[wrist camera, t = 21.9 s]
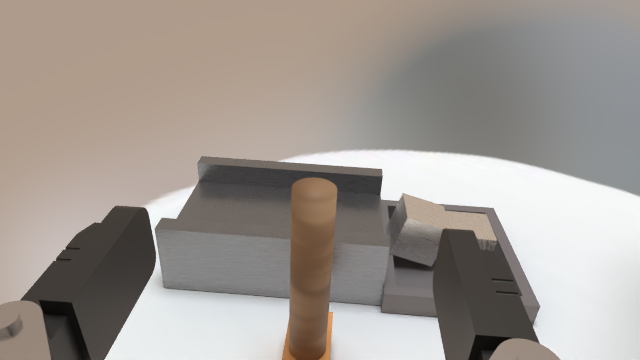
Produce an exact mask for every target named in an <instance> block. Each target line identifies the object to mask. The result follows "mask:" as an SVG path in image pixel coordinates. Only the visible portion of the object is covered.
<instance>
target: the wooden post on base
mask: <svg viewBox="0 0 640 360" xmlns="http://www.w3.org/2000/svg"><path fill="white" fill-rule="evenodd" d="M336 201H337V187H336V185H335V184H334V183H332V182H331V181H329V180H326V179H322V178H304V179H301V180H298V181H296V182H295V183H294V184H293V185H292V190H291V254H290V317H289V323H288V329H287V334H286V340H285V346H284V351H283V357H282V360H330V348H331V333H332V318H333V312H329V298H330V284H331V270H332V257H333V243H334V229H335V215H336Z"/></svg>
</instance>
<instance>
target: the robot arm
mask: <svg viewBox="0 0 640 360" xmlns="http://www.w3.org/2000/svg"><path fill="white" fill-rule="evenodd" d="M155 262H156V251H155V246H154V240H153V235H152V230H151V225H150V220H149V215H148V212H147V210H146V209H145V208H143V207H128V206H115V207H114V208H113V209H112V210H111V211H110V212H109V214H108V215H107V216H106V217H105V218H104V220H103V221H102V222H101V223H93V224H92V225H90V226H89V227H87V228H85V229H84V230H82V231H81V232H79V233H78V234H77V235H76V236H75V237H74V238H73V239H72V240H71V242H70V243H69V244H68V245H67V246H66V249H65V250H63V251H62V252H61V253H60V254H59V256H58V257H57V258H56V261H53V263H52V264H51V265H50V266H49V267H48V268H47V270H46V271H45V272H44V273H43V274H42V275H41V277H40V278H39V279H38V280H37V281H36V283H35V284H34V285H33V286H32V287H31V288H30V289H29V291H28V292H27V293H26V294H25V295H24V297H23V298H22V299H21V300H20V301H14V302H8V303H5V304H2V305H0V360H104V359H105V357H106V356H107V354H108V352H109V350H110V349H111V347H112V345H113V343H114V341H115V340H116V338H117V336H118V334H119V332H120V331H121V329H122V327H123V325H124V324H125V322H126V320H127V318H128V316H129V315H130V313H131V311H132V309H133V307H134V306H135V304H136V302H137V300H138V299H139V297H140V295H141V293H142V291H143V290H144V288H145V286H146V284H147V282H148V281H149V279H150V277H151V275H152V273H153V271H154V267H155ZM433 296H434V302H435V307H436V312H437V317H438V322H439V327H440V333H441V338H442V343H443V348H444V353H445V358H446V360H560V359H559V358H558V357H557V356H556V355H555V354H554V353H553V352H552V351H551V350H549V349H548V348H546V347H545V346H543V345H541V344H540V343H539V341H538V339H537V336H536V334H535V331H534V329H533V326H532V324H531V322H530V319H529V317H528V314H527V312H526V310H525V307H524V305H523V302H522V300H521V298H520V296H518V290H517V288H516V286H515V283H513V278H512V276H511V274H510V271H509V269H508V266H507V264H506V263H505V262H504V261H503V260H502V259H501V258H500V257H499V256H498V255H497V254H496V253H495V252H494V251H490V250H481V249H480V246H479V243H478V241H477V238H476V235H475V233H474V231H473V230H462V229H447V228H444V229H443V231H442V234H441V239H440V243H439V248H438V253H437V258H436V263H435V268H434V273H433Z"/></svg>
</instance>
